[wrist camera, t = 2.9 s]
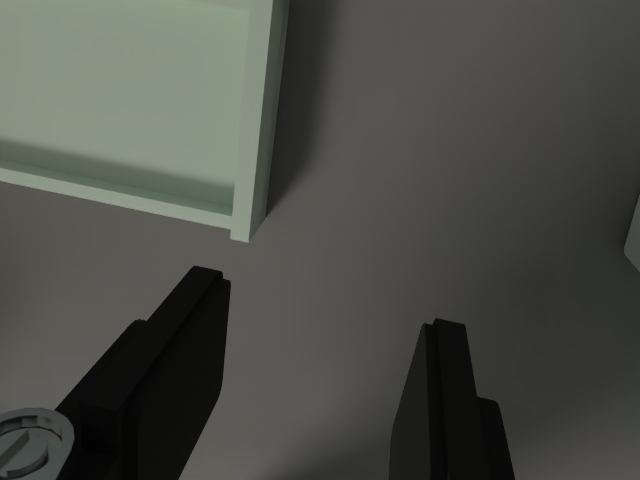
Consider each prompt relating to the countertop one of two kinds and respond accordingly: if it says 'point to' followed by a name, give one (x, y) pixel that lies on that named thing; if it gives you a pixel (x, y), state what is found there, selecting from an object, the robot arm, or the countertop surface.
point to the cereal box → (634, 239)
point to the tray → (145, 103)
